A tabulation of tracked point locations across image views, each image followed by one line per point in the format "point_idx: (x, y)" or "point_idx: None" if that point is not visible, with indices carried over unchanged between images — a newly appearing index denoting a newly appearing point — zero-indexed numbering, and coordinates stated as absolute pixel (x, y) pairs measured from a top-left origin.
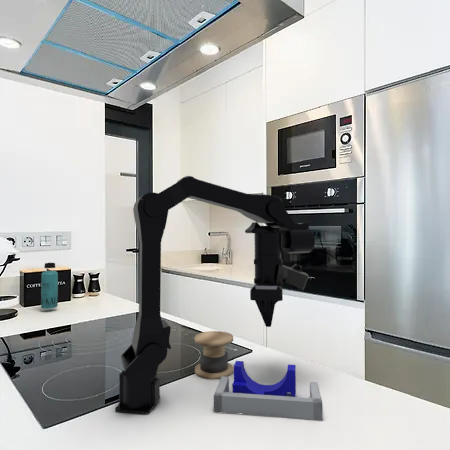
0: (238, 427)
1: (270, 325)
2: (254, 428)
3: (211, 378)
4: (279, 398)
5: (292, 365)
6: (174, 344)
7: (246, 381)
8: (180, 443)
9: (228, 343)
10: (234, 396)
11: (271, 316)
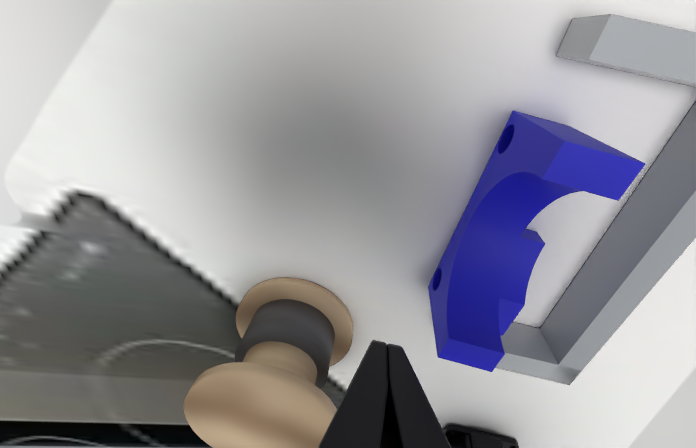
0: (651, 310)
1: (405, 356)
2: (678, 278)
3: (352, 335)
4: (688, 231)
5: (566, 159)
6: (109, 387)
7: (496, 300)
8: (656, 404)
9: (312, 386)
10: (600, 345)
11: (440, 440)
